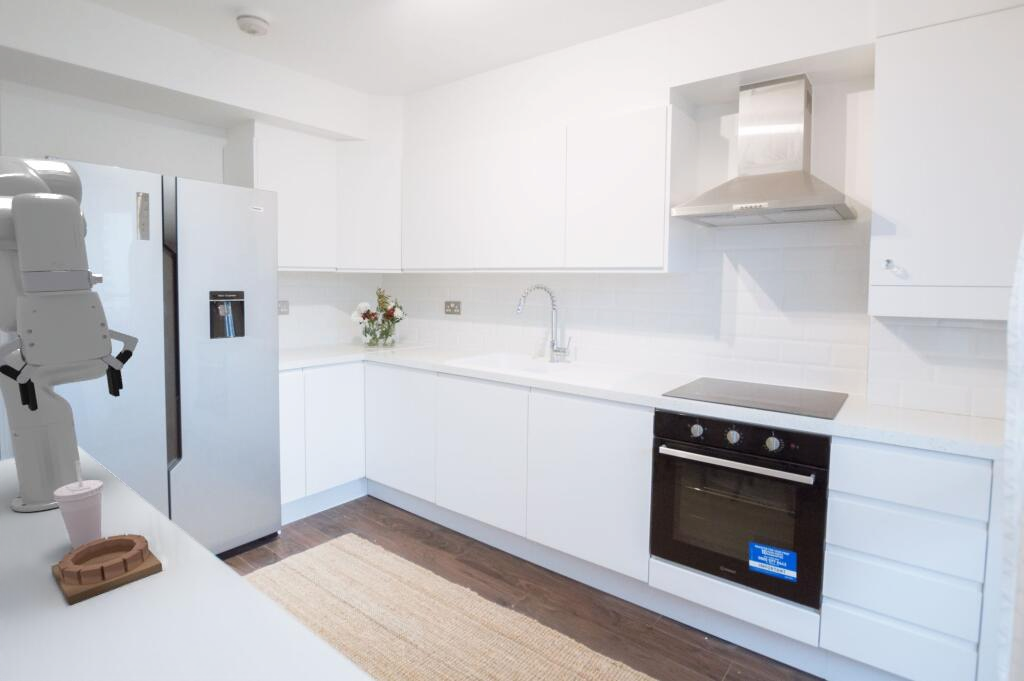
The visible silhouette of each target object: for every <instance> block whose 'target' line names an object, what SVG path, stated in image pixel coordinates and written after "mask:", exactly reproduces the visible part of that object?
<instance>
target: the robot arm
mask: <svg viewBox="0 0 1024 681" xmlns="http://www.w3.org/2000/svg"><path fill="white" fill-rule="evenodd" d="M81 181H82V180H81V178H80V176H79V173H78V172H77V171H76V169H75V168H74V167H73V166H72V165H71V164H70V163H68V162H67V161H63V160H60V159H57V158H56V159H54V158H43V157H30V156H18V155H17V156H16V155H0V331H1V332H3V333H7V334H11V335H12V334H15V335H17V337H16V338H14V339H12V340H9V341H6V342H3V343H1V344H0V392H1V395H2V398H3V403H4V406H5V411H6V416H7V421H8V422H7V423H8V426H9V427H8V428H9V433H10V437H11V438H10V440H11V444H12V450H13V456H14V461H15V463H14V464H15V468H16V475H17V480H18V485H19V493H20V494H19V495H18V496H16V497H15V498H13V499H12V500H11V502H10V504H11V509H12V510H13V511H16V512H19V513H21V512H22V513H26V512H27V513H29V512H30V513H33V512H41V511H46V510H51V509H56V508H59V505H58V501H56V500H54V492H55V491H56V490H57V489H59V488H61V487H63V486H65V485H68V484H72V483H75V482H78V477H77V470H76V464H75V462H76V461H80V462H81V459H80V452H79V445H78V440H77V439H78V438H77V434H76V426H75V421H74V420H75V419H74V413H73V409H72V408H73V407H72V406H71V404H70V403H69V401H68V400H67V399H65V398H64V397H63V396H61V395H60V394H59V393H56V392H55V391H53V390H52V388H53V387H55V386H60V385H66V384H72V383H73V384H74V383H79V382H85V381H86V382H87V381H92V380H93V381H94V380H97V379H101V378H102V377H105V376H106V380H107V387H108V389H107V390H108V394H109V395H111V396H112V397H115V398H116V397H120V395H121V394H120V391H121V390H123V389H124V383H123V378H122V377H123V376H122V369H123V368H124V366H125V364H126V363H127V362H128V361H129V360H130V359H131V358H132V356H133V354H134V351H135V349H136V347H137V345H138V342H139V339H138V337H135V336H133V335H129V334H125V333H123V332H119V331H116V330H114V329H113V330H112V329H110V328H109V325H108V320H107V317H106V313H105V309H104V307H103V306H104V305H103V303H102V301H101V298H100V295H99V293H98V291H93V286H94V285H97V284H102V283H103V280H104V279H103V275H102V273H93V272H91V270H90V268H89V262H88V254H87V247H86V241H85V240H86V239H85V238H86V236H87V233H88V229H87V227H88V225H87V221H86V216H85V213H84V212H83V211H82V209H81V204H82V200H83V184H82V182H81ZM112 340H115V341H118V342H122V343H123V346H122V347H123V348H122V350H120V352H118V353H117V355H116V356H114V355H113V354H112V351H113V346H112V344H113V343H112ZM80 467H81V468H82V466H81V464H80ZM81 474H82V475H83V472H82V470H81ZM82 480H83V481H84V479H83V477H82Z"/></svg>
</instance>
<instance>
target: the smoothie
mask: <svg viewBox="0 0 1024 681" xmlns="http://www.w3.org/2000/svg"><path fill="white" fill-rule="evenodd" d="M75 464H76V470H77V477H78V482H75V483H72V484H68V485H65V486H63V487H61V488H59V489H57V490H56V491H55V492H54V500H56V501H58V505H59V507H58V508H59V510H60V513H61V516H62V519H63V523H64V525H65V529H66V531H67V534H68V537H69V540H70V543H71V546H72V549H73V550H74V549H76V548H78V547H80V546H82V545H87V543H90V542H93V541H96V540H99V539H102V491H103V490H104V483H103V481H101V480H98V479H87V480H84V479H83V480H82V478H83V473H82V474H81V471H82V466H81V467H80V465H81V460H80V461H76V462H75Z"/></svg>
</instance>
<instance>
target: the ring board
mask: <svg viewBox="0 0 1024 681" xmlns="http://www.w3.org/2000/svg"><path fill="white" fill-rule="evenodd" d="M162 571H163V565H162V562H161V561H160V559H159V558H157V556H156V555H155V554H154V553H153V552H152V551H151V550H150V549H149V544H148V539H147V538H146V537H145V536H144V535H141V534H133V533H128V534H125V533H123V534H119V535H113V536H108V537H107V538H106V537H101V539H99V540H96V541H93V542H90V543H87V545H82V546H80V547H78V548H76V549H73V550H70V551H69V552H68V553H66V554H64V555H63V557H62V558H61V559H60V560H59V561H58V563H55V564H54V565H51V573H52V576H53V577H54V579H55V581H56V583H57V585H58V587H59V588H60V591H61V593H62V594H63V597H64V598H65V600H66V602H67V604H68V606H71V605H74V604H77V603H79V602H82V601H85V600H87V599H90V598H93V597H95V596H98V595H102V594H103V593H106V592H109V591H111V590H114V589H117V588H120V587H122V586H125V585H128V584H130V583H132V582H136V581H138V579H139V580H141V579H143V578H146V577H149V576H151V575H154V574H156V573H159V572H160V573H161V572H162ZM135 580H136V581H135Z"/></svg>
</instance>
